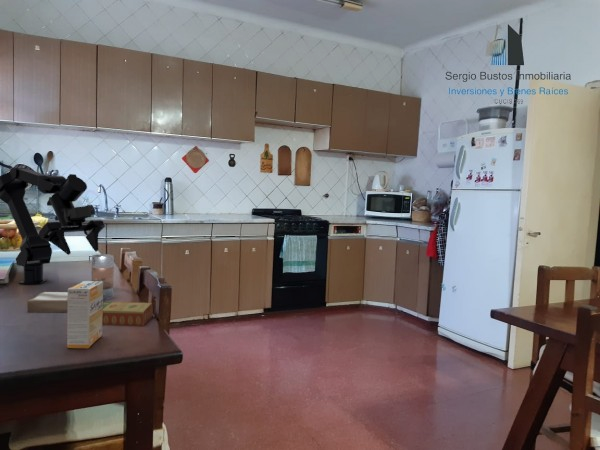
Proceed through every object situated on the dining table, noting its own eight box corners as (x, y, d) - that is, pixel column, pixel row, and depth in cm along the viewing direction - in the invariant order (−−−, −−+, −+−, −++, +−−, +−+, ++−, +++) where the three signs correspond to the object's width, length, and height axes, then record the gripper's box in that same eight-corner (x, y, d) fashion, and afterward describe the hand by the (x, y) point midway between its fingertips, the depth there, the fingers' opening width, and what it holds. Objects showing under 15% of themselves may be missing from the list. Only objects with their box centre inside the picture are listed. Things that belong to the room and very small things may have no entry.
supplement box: (89, 349, 95) (90, 289, 94) (66, 348, 95) (66, 288, 93) (103, 336, 103) (104, 280, 102) (82, 335, 103) (82, 279, 102)
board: (42, 302, 128) (42, 291, 127) (79, 302, 129) (79, 291, 129) (27, 312, 118) (27, 300, 118) (68, 312, 120) (68, 300, 119)
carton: (143, 327, 111) (143, 311, 111) (78, 325, 111) (78, 308, 110) (152, 317, 120) (152, 302, 119) (91, 315, 119) (91, 299, 118)
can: (94, 295, 138) (95, 253, 136) (115, 295, 139) (116, 254, 137) (88, 300, 132) (89, 257, 130) (110, 300, 133) (111, 257, 132)
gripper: (47, 195, 128) (67, 241, 124) (104, 195, 144) (123, 236, 141) (30, 216, 133) (48, 261, 129) (87, 214, 149) (105, 254, 146)
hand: (83, 252), depth 136 cm, fingers open, 9 cm apart
